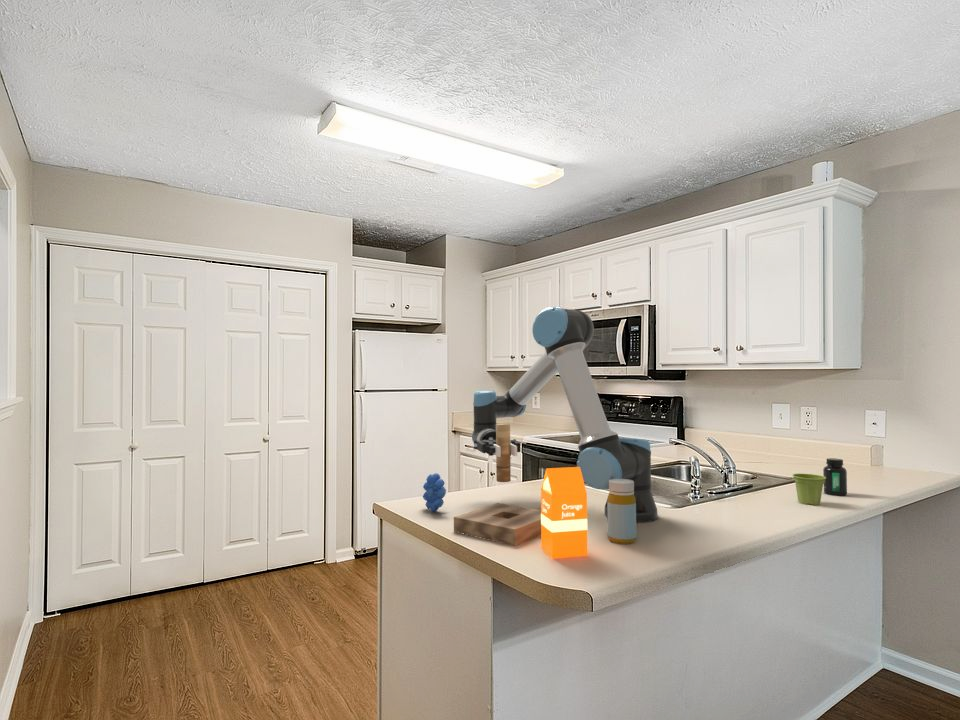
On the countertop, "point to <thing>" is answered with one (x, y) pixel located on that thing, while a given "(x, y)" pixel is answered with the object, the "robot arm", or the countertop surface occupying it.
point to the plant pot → (809, 488)
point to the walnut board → (501, 523)
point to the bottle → (621, 511)
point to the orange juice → (564, 513)
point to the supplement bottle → (835, 478)
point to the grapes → (434, 492)
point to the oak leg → (503, 453)
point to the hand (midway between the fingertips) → (507, 451)
